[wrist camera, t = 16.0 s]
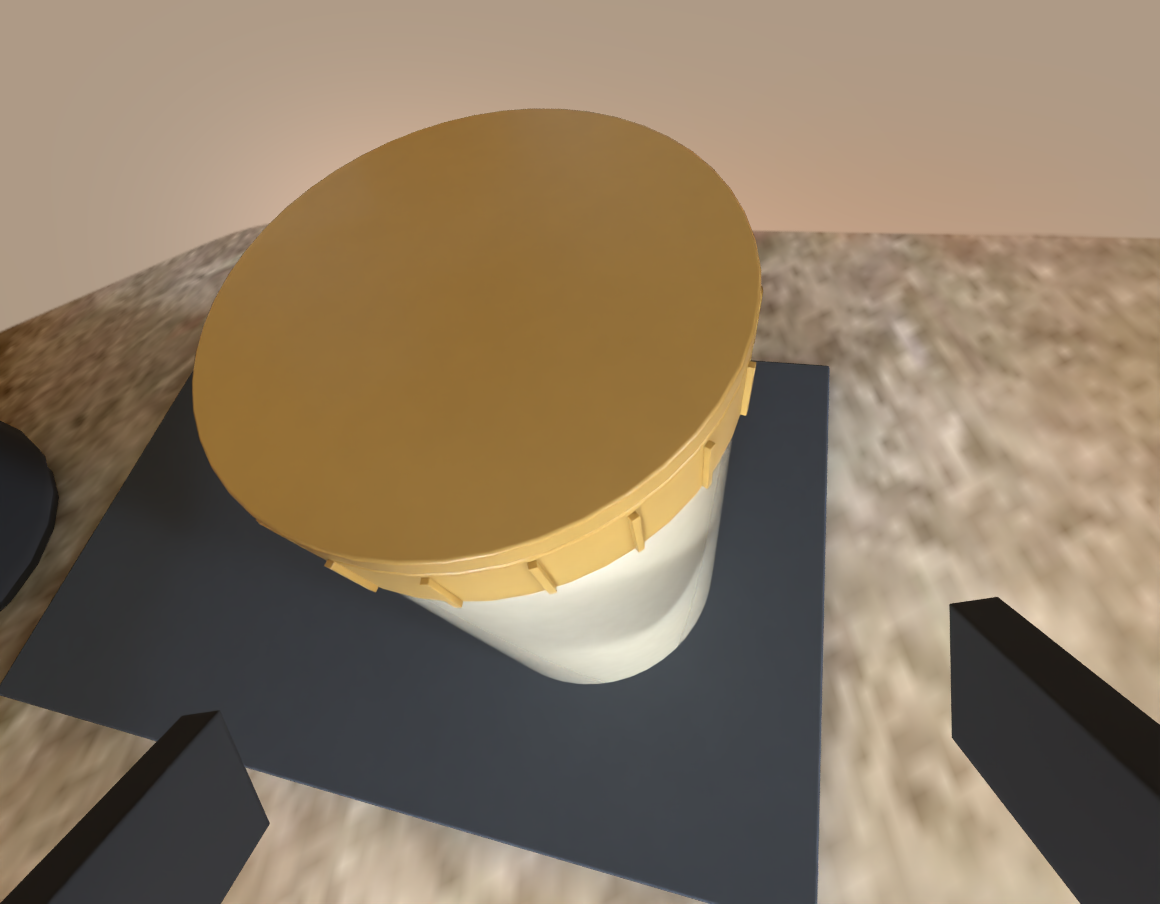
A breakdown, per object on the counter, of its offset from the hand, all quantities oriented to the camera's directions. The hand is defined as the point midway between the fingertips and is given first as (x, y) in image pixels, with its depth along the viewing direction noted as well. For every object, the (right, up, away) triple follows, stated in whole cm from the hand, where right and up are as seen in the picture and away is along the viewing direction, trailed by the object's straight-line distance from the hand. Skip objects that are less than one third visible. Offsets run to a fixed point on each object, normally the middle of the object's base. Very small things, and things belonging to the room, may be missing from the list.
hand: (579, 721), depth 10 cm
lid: (-2, +7, -2) cm, 7 cm away
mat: (-5, +2, +10) cm, 11 cm away
